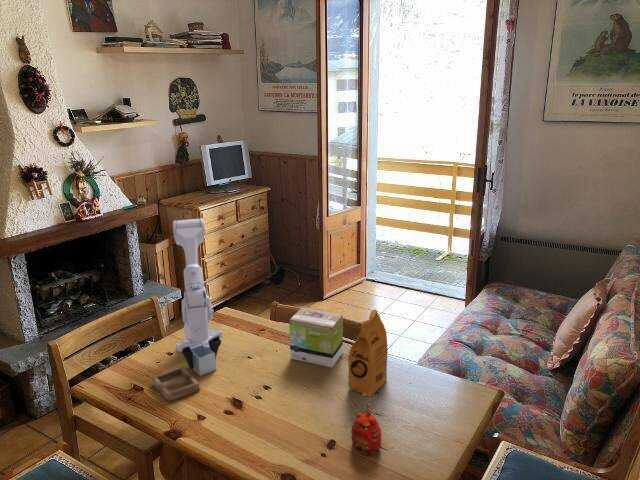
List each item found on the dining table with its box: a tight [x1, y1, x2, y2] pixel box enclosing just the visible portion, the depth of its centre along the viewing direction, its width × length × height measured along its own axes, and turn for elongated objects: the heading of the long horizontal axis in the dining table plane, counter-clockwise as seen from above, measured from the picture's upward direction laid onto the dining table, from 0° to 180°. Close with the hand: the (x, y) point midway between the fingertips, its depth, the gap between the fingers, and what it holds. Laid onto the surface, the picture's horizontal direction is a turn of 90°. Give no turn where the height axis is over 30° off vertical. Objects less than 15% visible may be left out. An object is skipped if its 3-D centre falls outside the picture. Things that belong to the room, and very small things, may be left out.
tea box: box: [288, 307, 344, 369], centre depth 168 cm, size 15×10×15 cm, turn 68°
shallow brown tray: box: [152, 366, 201, 404], centre depth 155 cm, size 12×10×2 cm
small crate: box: [190, 345, 217, 377], centre depth 165 cm, size 8×6×6 cm
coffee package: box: [347, 308, 389, 397], centre depth 152 cm, size 10×12×22 cm
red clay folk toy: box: [350, 389, 382, 456], centre depth 127 cm, size 8×7×15 cm
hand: (202, 363), depth 165 cm, fingers open, 7 cm apart
